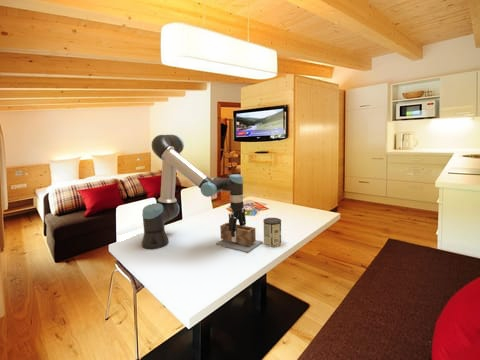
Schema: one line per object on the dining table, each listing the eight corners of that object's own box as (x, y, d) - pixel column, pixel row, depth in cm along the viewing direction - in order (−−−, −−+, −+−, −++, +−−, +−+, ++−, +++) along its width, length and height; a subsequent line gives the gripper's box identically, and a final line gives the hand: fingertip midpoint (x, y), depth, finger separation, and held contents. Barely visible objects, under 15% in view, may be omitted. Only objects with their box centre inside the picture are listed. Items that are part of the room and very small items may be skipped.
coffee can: (270, 238, 165) (270, 216, 162) (284, 242, 158) (284, 219, 155) (260, 243, 157) (259, 220, 155) (274, 248, 150) (274, 224, 148)
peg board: (216, 244, 157) (215, 234, 156) (232, 236, 170) (231, 226, 169) (247, 253, 145) (247, 241, 144) (262, 243, 158) (262, 232, 157)
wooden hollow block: (255, 241, 155) (255, 227, 154) (249, 245, 149) (248, 231, 148) (227, 234, 166) (227, 222, 165) (220, 238, 160) (220, 225, 159)
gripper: (231, 206, 144) (233, 246, 147) (251, 198, 160) (252, 235, 164) (220, 204, 148) (222, 243, 152) (241, 197, 164) (242, 233, 168)
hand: (237, 239), depth 158 cm, fingers closed on wooden hollow block, 7 cm apart
